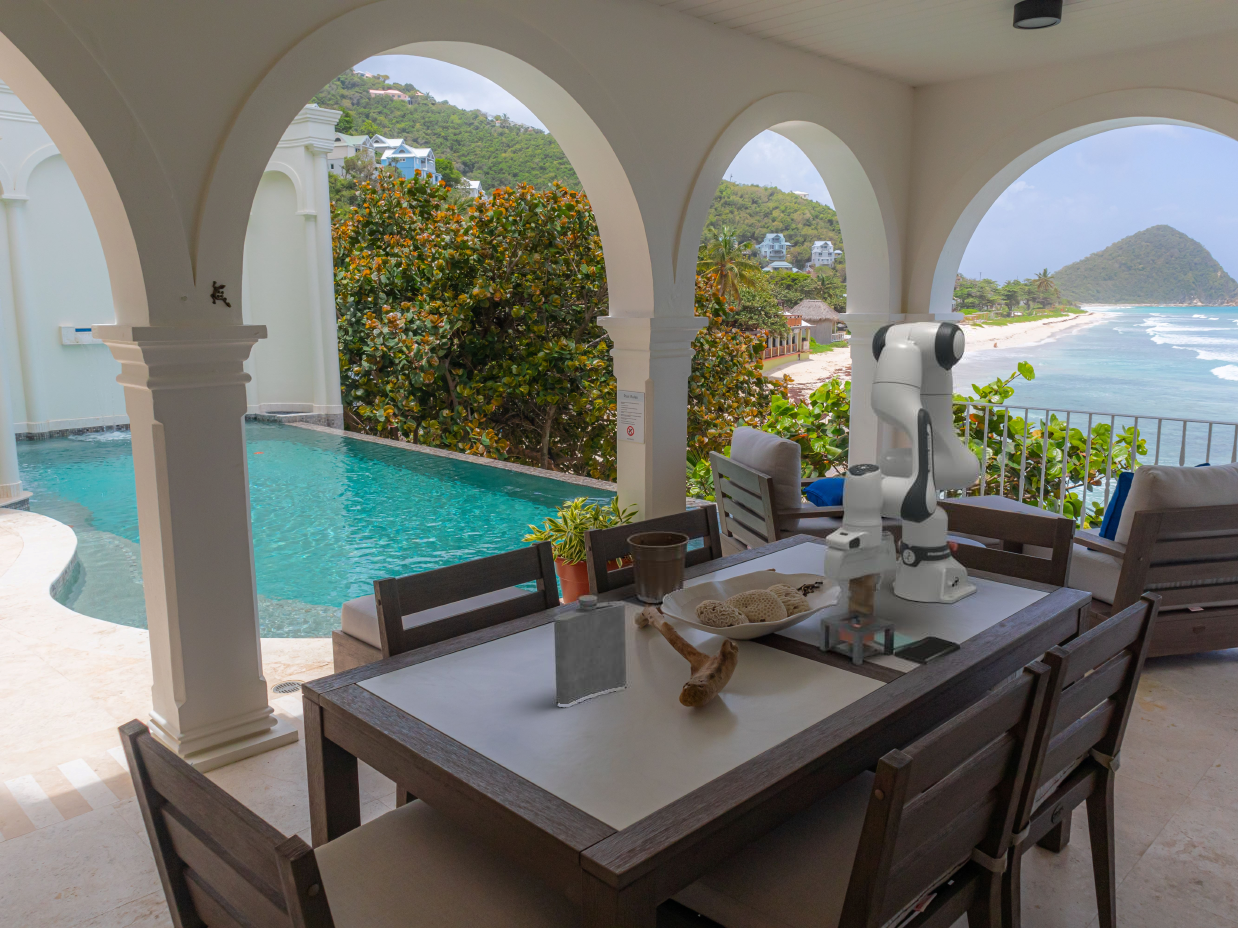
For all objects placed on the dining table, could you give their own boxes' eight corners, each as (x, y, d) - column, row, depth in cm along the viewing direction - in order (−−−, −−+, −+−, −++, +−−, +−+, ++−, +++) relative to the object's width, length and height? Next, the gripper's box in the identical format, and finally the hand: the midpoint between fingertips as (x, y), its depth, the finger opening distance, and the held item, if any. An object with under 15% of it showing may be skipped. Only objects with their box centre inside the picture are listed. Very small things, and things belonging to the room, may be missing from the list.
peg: (859, 626, 208) (861, 569, 206) (873, 631, 205) (874, 573, 202) (847, 630, 206) (849, 572, 204) (860, 635, 202) (862, 576, 200)
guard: (855, 639, 200) (855, 609, 199) (893, 653, 191) (894, 623, 190) (819, 649, 194) (820, 618, 193) (857, 665, 185) (858, 633, 184)
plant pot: (616, 601, 230) (615, 541, 228) (647, 585, 244) (646, 528, 241) (671, 611, 222) (670, 549, 219) (700, 593, 235) (699, 535, 233)
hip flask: (562, 709, 166) (559, 608, 163) (551, 702, 170) (547, 603, 167) (629, 687, 176) (627, 591, 173) (617, 681, 179) (615, 586, 176)
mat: (890, 632, 204) (890, 630, 204) (918, 642, 197) (918, 640, 197) (866, 639, 200) (866, 637, 200) (894, 649, 193) (894, 647, 193)
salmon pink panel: (856, 633, 196) (856, 624, 195) (874, 640, 191) (874, 630, 191) (839, 638, 193) (839, 628, 193) (857, 645, 189) (857, 635, 188)
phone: (962, 644, 194) (925, 662, 184) (961, 649, 194) (924, 667, 184) (929, 635, 200) (892, 651, 190) (929, 640, 200) (891, 656, 190)
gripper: (882, 527, 210) (881, 583, 211) (820, 538, 199) (819, 598, 201) (903, 532, 204) (902, 589, 206) (840, 543, 194) (839, 604, 195)
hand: (860, 594), depth 203 cm, fingers open, 8 cm apart
